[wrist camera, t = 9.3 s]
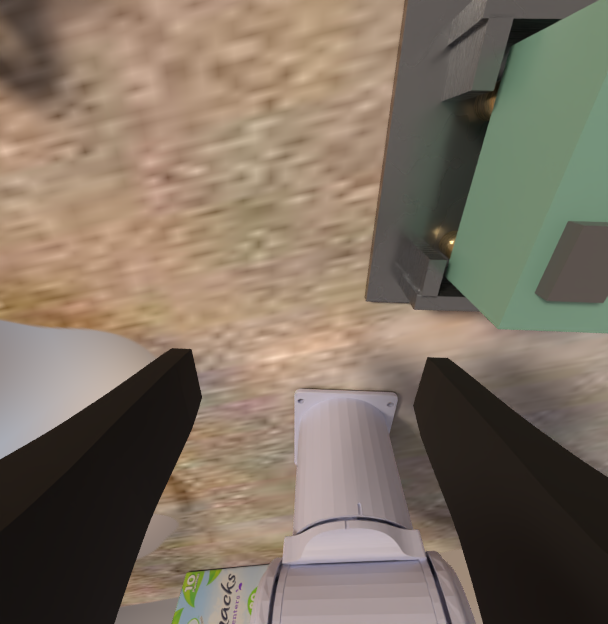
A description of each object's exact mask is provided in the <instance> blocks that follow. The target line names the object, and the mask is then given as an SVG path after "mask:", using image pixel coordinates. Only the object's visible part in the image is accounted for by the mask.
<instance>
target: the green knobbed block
mask: <svg viewBox="0 0 608 624" xmlns="http://www.w3.org/2000/svg"><path fill="white" fill-rule="evenodd" d="M445 277H446V278H447V279H448V280H449V281H450V282H451V283H452V284H453V285H454V286H455V287H456V288H457V289H458V290H459V291H460V292H461V293H462V294H463V295H464V296H465V297H466V298H467V299H468V300H469V301H470V302H471V303H472V304H473V305H474V306H475V307H476V308H477V309H478V310H479V311H480V312H481V313H482V314H483V315H484V316H485V317H486V318H487V319H488V320H489V321H490V322H491V323H492V324H493V325H494V326H495V327H496V328H497V329H510V330H536V331H562V332H587V333H608V0H598V1H597V2H595V3H593V4H591V5H589V6H587V7H585V8H583V9H581V10H579V11H577V12H576V13H574V14H572V15H570V16H568V17H566V18H564V19H562V20H560V21H558V22H556V23H555V24H553V25H551V26H549V27H547V28H545V29H543V30H541V31H539V32H537V33H535V34H533V35H532V36H530V37H528V38H526V39H524V40H522V41H520V42H518V43H516V44H514V45H512V46H511V48H510V51H509V55H508V58H507V61H506V65H505V68H504V72H503V75H502V79H501V82H500V86H499V89H498V93H497V96H496V100H495V103H494V107H493V110H492V114H491V117H490V121H489V124H488V128H487V131H486V135H485V138H484V142H483V145H482V149H481V152H480V156H479V159H478V163H477V166H476V170H475V173H474V177H473V180H472V184H471V187H470V191H469V194H468V198H467V201H466V205H465V208H464V211H463V215H462V218H461V222H460V225H459V229H458V232H457V236H456V239H455V243H454V246H453V250H452V253H451V257H450V260H449V264H448V267H447V271H446V274H445Z"/></svg>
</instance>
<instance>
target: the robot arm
mask: <svg viewBox="0 0 608 624" xmlns="http://www.w3.org/2000/svg"><path fill="white" fill-rule="evenodd" d="M201 399H202V395H201V390H200V386H199V381H198V377H197V372H196V368H195V363H194V359H193V354H192V350H191V349H175V348H172V349H170V350H169V351H167V352H166V353H164V354H163V355H161V356H160V357H158V358H157V359H155V360H154V361H153V362H151V363H150V364H148V365H147V366H146V367H144V368H143V369H141V370H140V371H139V372H137V373H136V374H134V375H133V376H132V377H130V378H129V379H127V380H126V381H124V382H123V383H122V384H120V385H119V386H117V387H116V388H115V389H113V390H112V391H110V392H109V393H107V394H106V395H104V396H103V397H101V398H100V399H98V400H97V401H96V402H94V403H92V404H91V405H89V406H88V407H86V408H85V409H83V410H82V411H80V412H79V413H77V414H75V415H74V416H72V417H71V418H69V419H68V420H66V421H65V422H63V423H62V424H60V425H58V426H57V427H55V428H54V429H52V430H50V431H49V432H47V433H45V434H44V435H42V436H40V437H39V438H37V439H36V440H33V441H32V442H30V443H28V444H27V445H25V446H23V447H21V448H19V449H18V450H16V451H14V452H13V453H11V454H9V455H7V456H5V457H4V458H2V459H0V624H114V623H115V620H116V617H117V613H118V611H119V608H120V605H121V602H122V599H123V596H124V593H125V590H126V587H127V584H128V581H129V578H130V575H131V572H132V570H133V567H134V564H135V561H136V558H137V555H138V553H139V550H140V547H141V544H142V542H143V539H144V536H145V533H146V531H147V528H148V525H149V523H150V520H151V518H152V516H153V513H154V511H155V508H156V506H157V504H158V502H159V499H160V497H161V495H162V493H163V491H164V489H165V486H166V484H167V482H168V480H169V478H170V476H171V474H172V471H173V469H174V467H175V465H176V463H177V461H178V458H179V456H180V454H181V452H182V450H183V448H184V445H185V443H186V441H187V439H188V437H189V434H190V432H191V430H192V427H193V424H194V421H195V418H196V415H197V412H198V409H199V406H200V402H201ZM299 399H303V400H299ZM390 402H391V403H390ZM397 402H398V397H397V395H396V394H395V393H393V392H373V391H347V390H321V389H298V390H296V391H295V464H296V465H297V473H296V490H295V507H294V524H293V536H286V537H285V538H284V548H283V557H281V558H275V559H273V560H272V562H271V563H270V564H269V566H268V568H267V570H266V572H265V573H264V574H263V576H262V578H261V580H260V582H259V585H258V587H257V591H256V594H255V598H254V602H253V607H252V612H251V619H250V624H476V622H475V620H474V616H473V614H472V611H471V608H470V605H469V603H468V600H467V597H466V595H465V592H464V590H463V587H462V585H461V583H460V581H459V579H458V577H457V575H456V573H455V571H454V569H453V568H452V567H451V566H450V565H449V564H448V563H447V562H446V561H445V560H444V559H443V558H442V557H441V555H440V554H439V553H438V552H436V551H426V553H425V550H424V546H423V542H422V539H421V535H420V531H419V530H417V529H413V527H412V523H411V519H410V515H409V511H408V507H407V503H406V499H405V496H404V492H403V488H402V484H401V480H400V476H399V472H398V468H397V464H396V460H395V456H394V452H393V449H392V445H391V441H390V437H389V434H390V430H391V426H392V422H393V418H394V414H395V410H396V406H397ZM413 406H414V410H415V415H416V419H417V423H418V427H419V431H420V435H421V438H422V441H423V444H424V446H425V449H426V452H427V454H428V457H429V460H430V462H431V465H432V467H433V470H434V473H435V475H436V478H437V480H438V483H439V485H440V488H441V491H442V493H443V496H444V498H445V501H446V503H447V506H448V509H449V511H450V514H451V516H452V519H453V522H454V525H455V528H456V531H457V533H458V536H459V539H460V543H461V546H462V550H463V553H464V557H465V560H466V563H467V567H468V570H469V574H470V577H471V581H472V583H473V588H474V591H475V595H476V599H477V602H478V606H479V609H480V613H481V617H482V621H483V624H608V477H606V476H605V475H603V474H602V473H600V472H599V471H597V470H596V469H594V468H593V467H591V466H590V465H588V464H587V463H585V462H584V461H582V460H581V459H579V458H578V457H576V456H575V455H573V454H572V453H571V452H569V451H568V450H566V449H565V448H563V447H562V446H561V445H559V444H558V443H557V442H555V441H554V440H552V439H551V438H550V437H548V436H547V435H546V434H544V433H543V432H541V431H540V430H539V429H537V428H536V427H535V426H533V425H532V424H531V423H529V422H528V421H527V420H525V419H524V418H523V417H521V416H520V415H519V414H518V413H516V412H515V411H514V410H512V409H511V408H510V407H509V406H507V405H506V404H505V403H504V402H502V401H501V400H500V399H499V398H497V397H496V396H495V395H494V394H492V393H491V392H490V391H489V390H487V389H486V388H485V387H484V386H482V385H481V384H480V383H479V382H478V381H476V380H475V379H474V378H473V377H471V376H470V375H469V374H468V373H466V372H465V371H464V370H463V369H461V368H460V367H459V366H458V365H456V364H455V363H454V362H452V361H451V360H450V359H448V358H431V357H427V360H426V364H425V367H424V371H423V374H422V377H421V381H420V384H419V388H418V391H417V395H416V398H415V402H414V405H413Z"/></svg>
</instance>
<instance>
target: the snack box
mask: <svg viewBox="0 0 608 624" xmlns="http://www.w3.org/2000/svg"><path fill="white" fill-rule="evenodd" d="M268 566H269V564H267V565H257V566H246V567H236V568H227V569H216V570H206V571H195V572H187V573H186V576H185V579H184V583H183V586H182V589H181V593H180V596H179V600H178V603H177V607H176V610H175V614H174V617H173V620H172V624H250V619H251V612H252V607H253V602H254V598H255V594H256V591H257V587H258V585H259V582H260V580H261V578H262V576H263V574H264V573H265V572H266V570H267V568H268Z"/></svg>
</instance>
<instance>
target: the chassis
mask: <svg viewBox="0 0 608 624" xmlns="http://www.w3.org/2000/svg"><path fill="white" fill-rule="evenodd" d="M597 1H598V0H405V3H404V11H403V18H402V26H401V33H400V40H399V48H398V55H397V62H396V70H395V77H394V85H393V92H392V99H391V107H390V114H389V122H388V129H387V136H386V144H385V151H384V158H383V166H382V173H381V181H380V188H379V195H378V203H377V210H376V218H375V225H374V232H373V240H372V247H371V254H370V262H369V269H368V277H367V284H366V291H365V299H366V301H371V302H403V303H410V304H411V305H412V307H413V309H414V310H445V311H477V312H480V311H479V310H478V309H477V308H476V307H475V306H474V305H473V304H472V303H471V302H470V301H469V300H468V299H467V298H466V297H465V296H464V295H463V294H462V293H461V292H460V291H459V290H458V289H457V288H456V287H455V286H454V285H453V284H452V283H451V282H450V281H449V280H448V279H447V278H446V277H445V274H446V271H447V267H448V264H449V260H450V257H451V253H452V250H453V246H454V243H455V239H456V236H457V232H458V229H459V225H460V222H461V218H462V215H463V211H464V208H465V205H466V201H467V198H468V194H469V191H470V187H471V184H472V180H473V177H474V173H475V170H476V166H477V163H478V159H479V156H480V152H481V149H482V145H483V142H484V138H485V135H486V131H487V128H488V124H489V121H490V117H491V114H492V110H493V107H494V103H495V100H496V96H497V93H498V89H499V86H500V82H501V79H502V75H503V72H504V68H505V65H506V61H507V58H508V55H509V51H510V48H511V46H512V45H514V44H516V43H518V42H520V41H522V40H524V39H526V38H528V37H530V36H532V35H533V34H535V33H537V32H539V31H541V30H543V29H545V28H547V27H549V26H551V25H553V24H555V23H556V22H558V21H560V20H562V19H564V18H566V17H568V16H570V15H572V14H574V13H576V12H577V11H579V10H581V9H583V8H585V7H587V6H589V5H591V4H593V3H595V2H597Z"/></svg>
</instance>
